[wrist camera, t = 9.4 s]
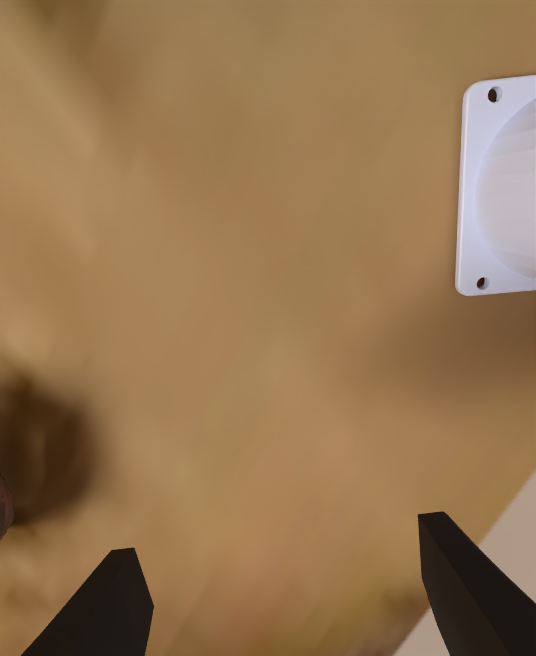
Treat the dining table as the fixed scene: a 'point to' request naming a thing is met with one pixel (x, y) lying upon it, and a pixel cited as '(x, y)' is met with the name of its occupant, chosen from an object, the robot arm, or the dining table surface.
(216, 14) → the dining table surface
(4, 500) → the pottery mug
